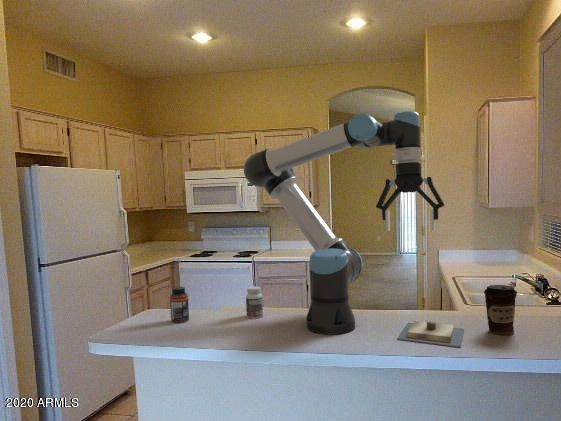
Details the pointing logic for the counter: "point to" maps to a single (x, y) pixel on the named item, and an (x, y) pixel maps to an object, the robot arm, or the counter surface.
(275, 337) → the counter surface
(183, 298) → the supplement bottle
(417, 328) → the bamboo lid
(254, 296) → the pill bottle
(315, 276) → the robot arm
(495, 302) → the coffee cup
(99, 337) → the counter surface
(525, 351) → the counter surface
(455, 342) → the rubber mat
